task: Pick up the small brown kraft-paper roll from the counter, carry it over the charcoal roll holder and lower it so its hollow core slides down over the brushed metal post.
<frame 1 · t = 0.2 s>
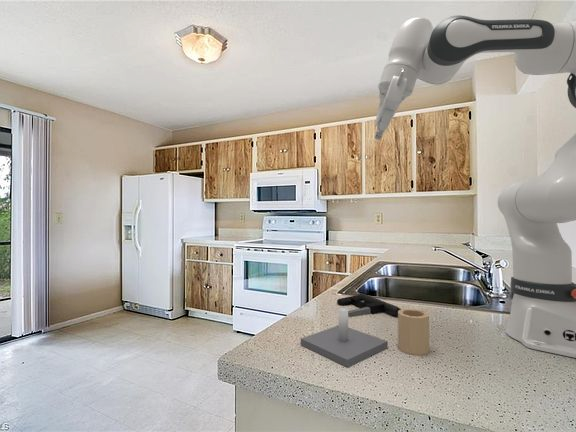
hand: (379, 134, 81), 51 cm above the counter, tool tilted 20°, fingers open, 8 cm apart
black two-tone tubular device: (363, 312, 98), on the counter
roll holder: (343, 346, 71), on the counter
paper roll: (413, 348, 69), on the counter
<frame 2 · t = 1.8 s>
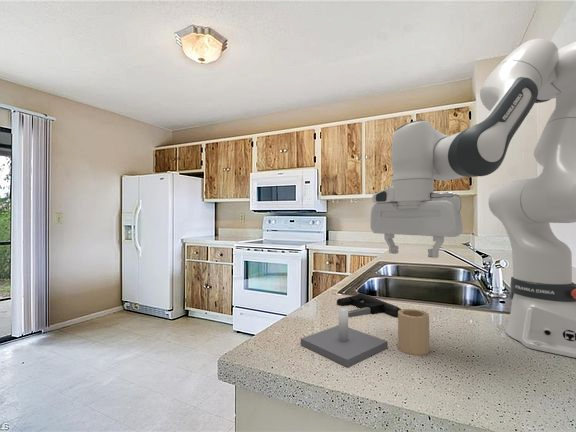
hand: (412, 255, 70), 21 cm above the counter, tool pointing down, fingers open, 8 cm apart
nothing on the counter moved.
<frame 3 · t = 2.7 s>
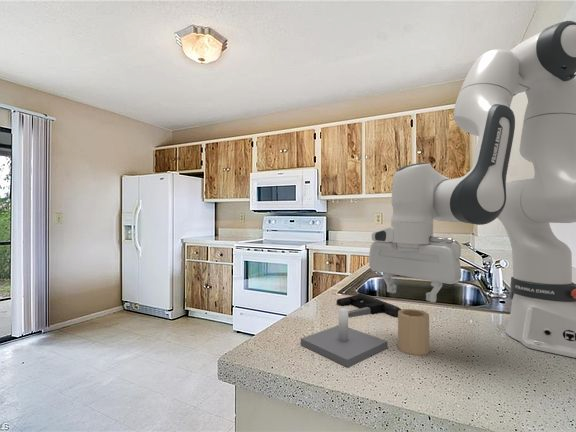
hand: (410, 296, 69), 12 cm above the counter, tool pointing down, fingers open, 8 cm apart
nothing on the counter moved.
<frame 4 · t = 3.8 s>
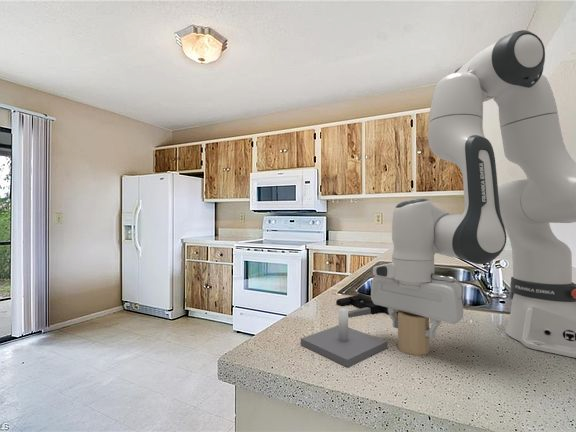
hand: (413, 332, 69), 4 cm above the counter, tool pointing down, fingers closed on paper roll, 6 cm apart
paper roll: (413, 348, 69), on the counter, touching gripper
everything else where it was.
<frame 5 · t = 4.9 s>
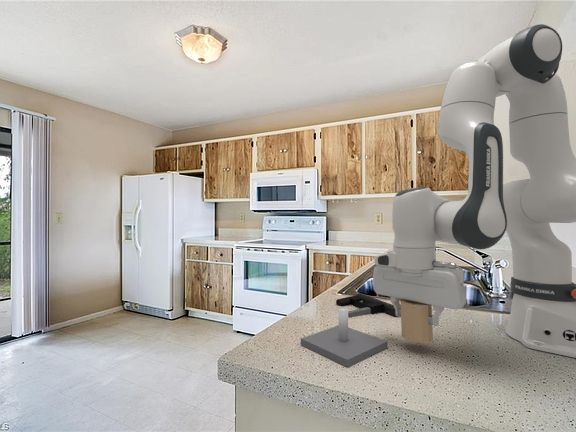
hand: (416, 320, 70), 6 cm above the counter, tool pointing down, fingers closed on paper roll, 6 cm apart
paper roll: (416, 336, 70), point 3 cm above the counter, touching gripper
everything else where it was.
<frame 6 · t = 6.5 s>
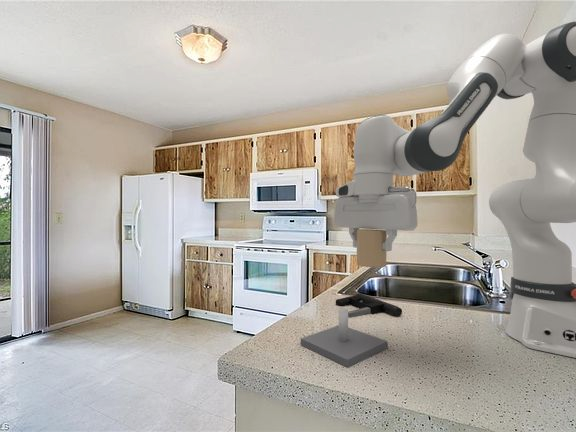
hand: (371, 249, 70), 22 cm above the counter, tool pointing down, fingers closed on paper roll, 6 cm apart
paper roll: (371, 265, 70), point 19 cm above the counter, touching gripper
everything else where it was.
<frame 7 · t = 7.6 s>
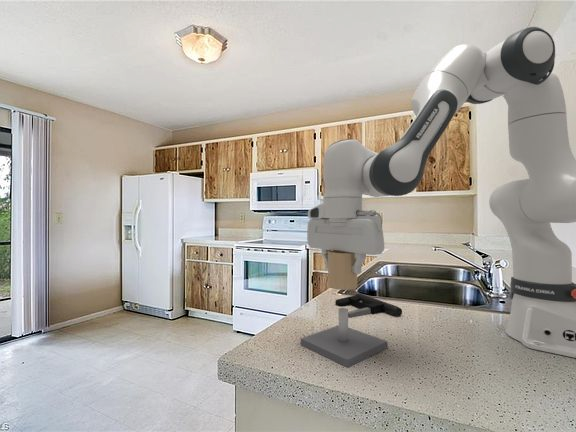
hand: (342, 270, 71), 17 cm above the counter, tool pointing down, fingers closed on paper roll, 6 cm apart
paper roll: (342, 286, 71), point 14 cm above the counter, touching gripper
everything else where it was.
when the fingers open (7 cm above the counter, at t = 10.8 s): paper roll drops 1 cm, resting on roll holder.
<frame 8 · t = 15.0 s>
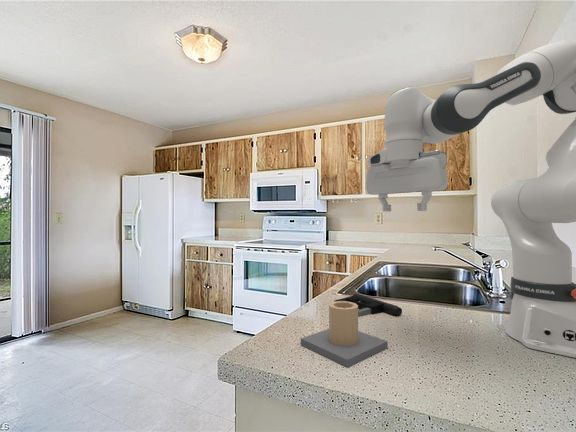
hand: (403, 211, 76), 31 cm above the counter, tool pointing down, fingers open, 8 cm apart
paper roll: (343, 339, 71), point 1 cm above the counter, touching roll holder
everything else where it was.
at the end: paper roll 0.1 cm off-centre on the roll holder, point 1.5 cm above the roll holder's base; paper roll tilted 0°; the gripper is holding nothing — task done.
